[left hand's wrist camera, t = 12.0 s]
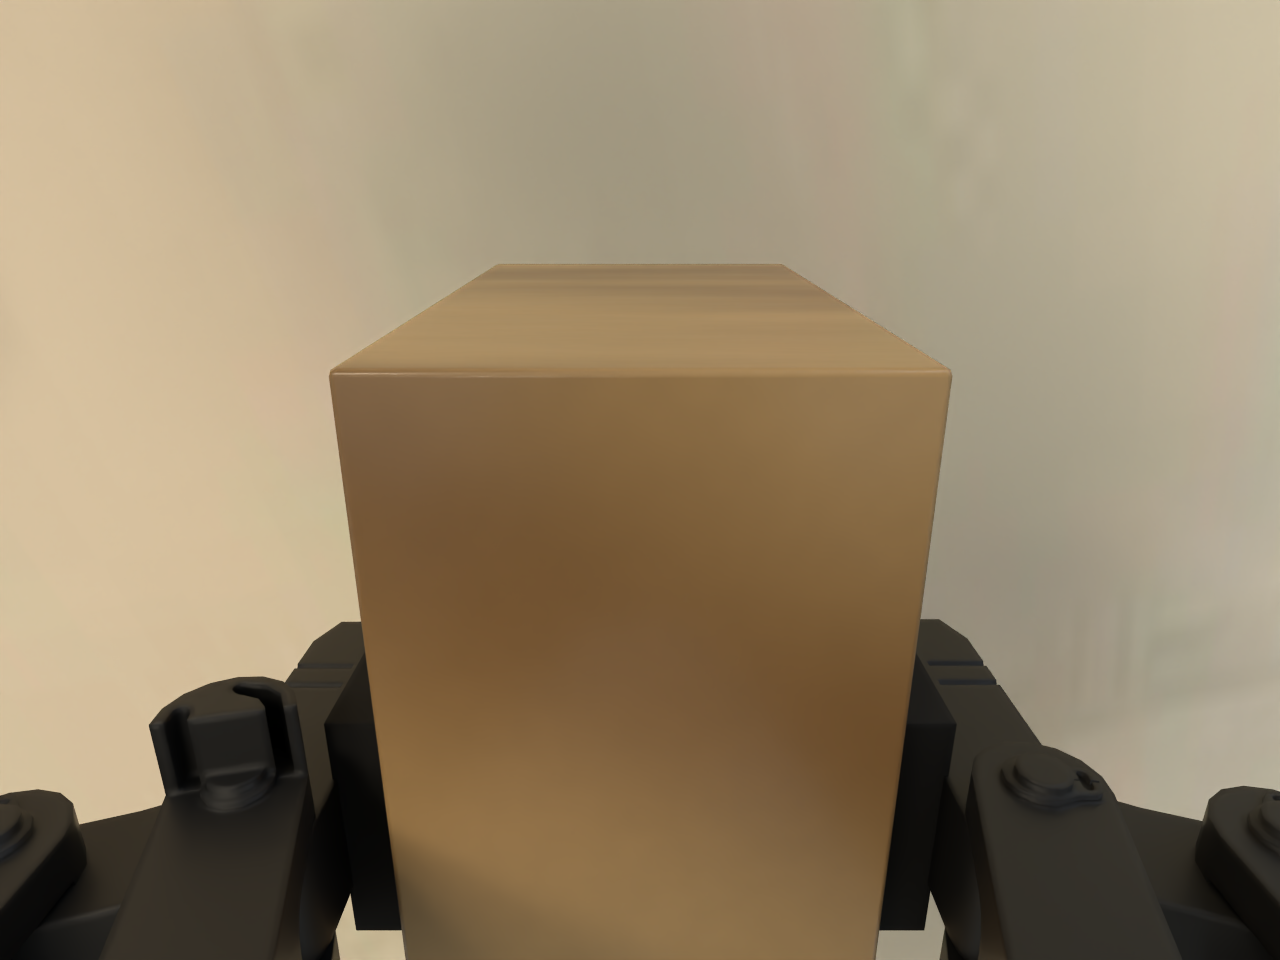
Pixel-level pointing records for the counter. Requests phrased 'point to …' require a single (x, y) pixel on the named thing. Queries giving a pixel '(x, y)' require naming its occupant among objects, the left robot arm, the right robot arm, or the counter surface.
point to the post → (640, 608)
